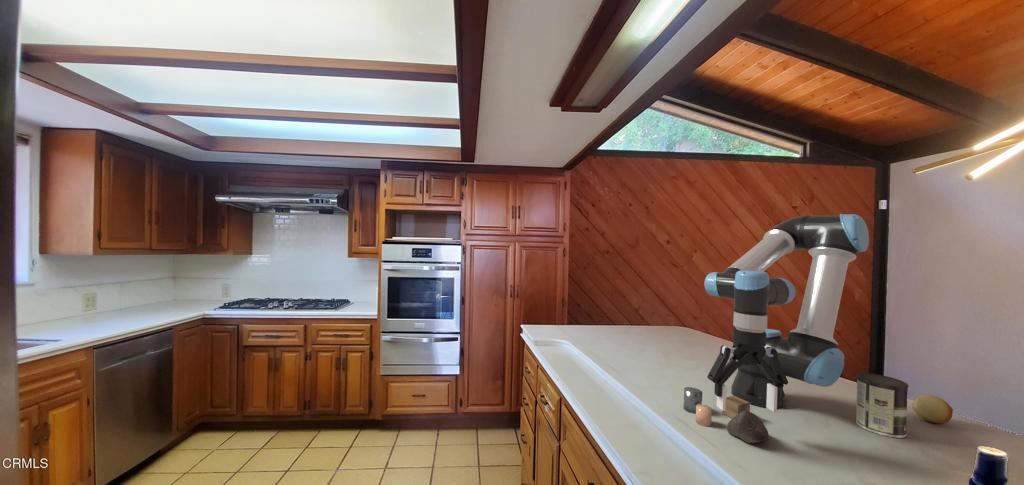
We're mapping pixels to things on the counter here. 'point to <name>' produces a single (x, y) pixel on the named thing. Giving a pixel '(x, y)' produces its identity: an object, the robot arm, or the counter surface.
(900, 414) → the coffee can
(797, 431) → the counter surface
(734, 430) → the stone
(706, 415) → the peach rounded capsule
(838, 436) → the counter surface
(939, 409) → the fruit
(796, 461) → the counter surface
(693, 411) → the metal tin
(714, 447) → the counter surface
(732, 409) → the walnut block
